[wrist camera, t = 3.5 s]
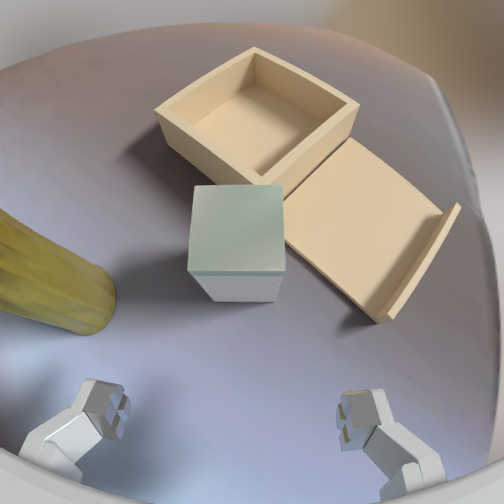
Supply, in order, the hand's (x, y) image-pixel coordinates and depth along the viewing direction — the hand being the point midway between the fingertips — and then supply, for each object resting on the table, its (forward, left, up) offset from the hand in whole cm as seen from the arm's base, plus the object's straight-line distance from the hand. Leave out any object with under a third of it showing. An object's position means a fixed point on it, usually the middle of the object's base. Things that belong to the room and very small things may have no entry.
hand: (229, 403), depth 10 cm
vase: (-13, -5, -12) cm, 18 cm away
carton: (-5, +6, -11) cm, 14 cm away
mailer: (-7, +16, -11) cm, 21 cm away
